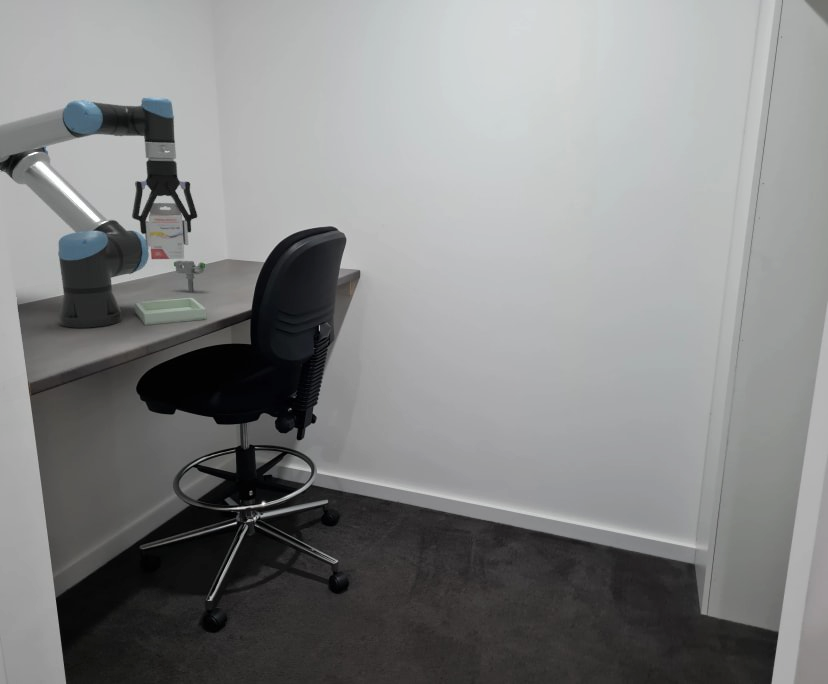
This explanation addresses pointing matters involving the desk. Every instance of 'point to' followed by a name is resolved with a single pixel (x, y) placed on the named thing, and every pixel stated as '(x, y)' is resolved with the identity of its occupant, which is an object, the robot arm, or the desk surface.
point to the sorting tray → (170, 311)
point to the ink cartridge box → (166, 232)
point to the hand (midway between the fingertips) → (167, 245)
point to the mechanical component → (189, 270)
